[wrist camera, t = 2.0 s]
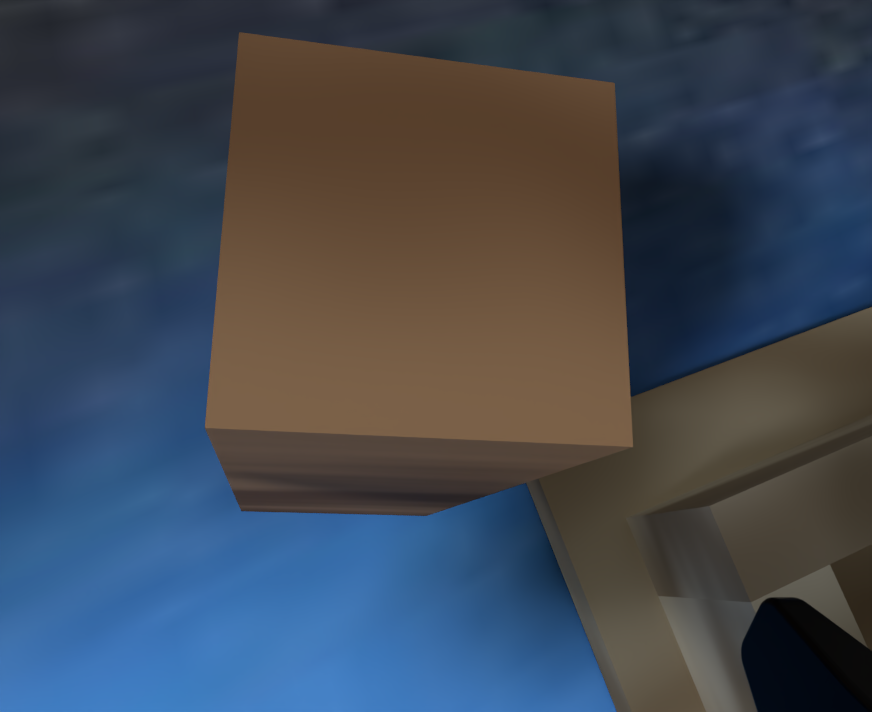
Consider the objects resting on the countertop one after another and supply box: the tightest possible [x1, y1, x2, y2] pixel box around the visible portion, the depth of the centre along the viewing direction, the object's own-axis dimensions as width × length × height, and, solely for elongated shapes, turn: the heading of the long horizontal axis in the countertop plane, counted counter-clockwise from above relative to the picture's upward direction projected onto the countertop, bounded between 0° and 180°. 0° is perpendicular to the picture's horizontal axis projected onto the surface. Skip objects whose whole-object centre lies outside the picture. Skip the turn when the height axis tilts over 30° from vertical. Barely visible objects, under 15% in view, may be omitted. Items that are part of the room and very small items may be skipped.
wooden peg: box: [205, 32, 633, 516], centre depth 15 cm, size 4×4×12 cm
